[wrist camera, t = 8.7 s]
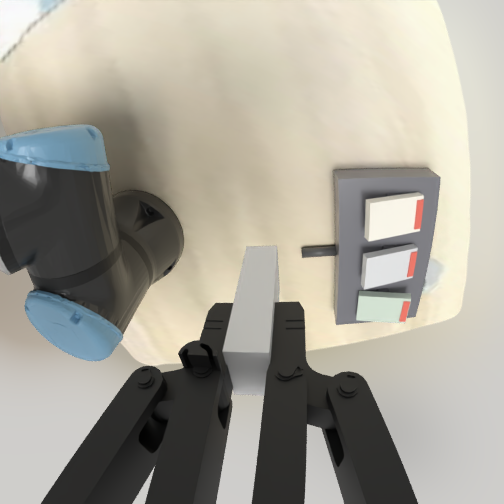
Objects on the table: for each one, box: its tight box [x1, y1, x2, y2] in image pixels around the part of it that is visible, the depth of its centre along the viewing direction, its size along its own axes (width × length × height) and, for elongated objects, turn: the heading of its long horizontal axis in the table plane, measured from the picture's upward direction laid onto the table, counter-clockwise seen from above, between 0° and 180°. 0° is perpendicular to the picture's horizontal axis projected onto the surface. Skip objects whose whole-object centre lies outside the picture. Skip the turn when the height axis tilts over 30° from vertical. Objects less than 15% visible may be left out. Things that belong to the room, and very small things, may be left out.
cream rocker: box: [364, 192, 424, 241], centre depth 33 cm, size 8×5×1 cm, turn 98°
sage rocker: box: [356, 291, 411, 323], centre depth 41 cm, size 8×5×1 cm, turn 98°
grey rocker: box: [361, 244, 418, 290], centre depth 37 cm, size 8×5×1 cm, turn 98°
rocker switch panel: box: [302, 168, 440, 325], centre depth 41 cm, size 19×24×5 cm
